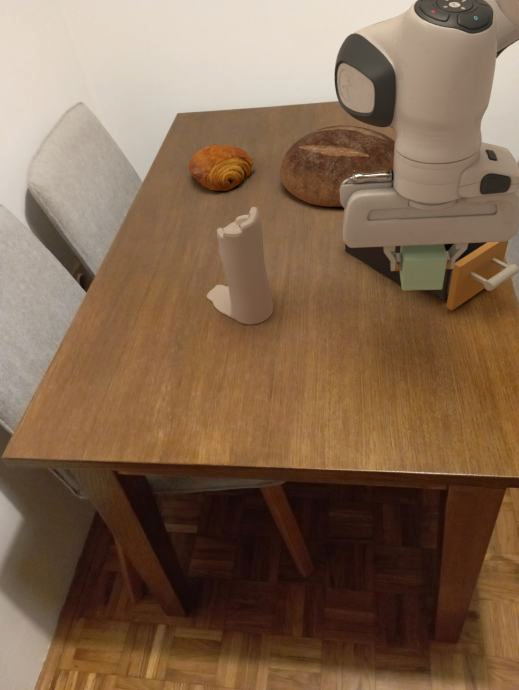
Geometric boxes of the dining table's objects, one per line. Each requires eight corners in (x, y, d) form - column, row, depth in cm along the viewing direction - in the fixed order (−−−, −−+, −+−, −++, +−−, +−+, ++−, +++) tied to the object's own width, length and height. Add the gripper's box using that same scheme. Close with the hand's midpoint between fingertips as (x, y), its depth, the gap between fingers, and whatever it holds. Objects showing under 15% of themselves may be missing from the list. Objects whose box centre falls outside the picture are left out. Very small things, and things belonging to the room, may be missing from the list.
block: (437, 265, 71) (441, 234, 67) (442, 289, 67) (447, 258, 64) (398, 266, 71) (401, 236, 68) (401, 290, 68) (404, 260, 64)
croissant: (207, 207, 120) (200, 178, 114) (184, 171, 129) (177, 142, 123) (264, 186, 123) (261, 156, 116) (237, 152, 132) (233, 123, 125)
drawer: (521, 291, 85) (535, 246, 79) (474, 324, 81) (484, 280, 75) (435, 244, 96) (441, 202, 90) (390, 272, 92) (393, 230, 86)
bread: (311, 145, 130) (309, 104, 123) (418, 158, 120) (423, 115, 112) (262, 199, 116) (256, 157, 109) (379, 220, 105) (381, 175, 98)
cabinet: (452, 255, 95) (461, 203, 87) (402, 287, 91) (406, 235, 83) (393, 223, 104) (396, 174, 96) (345, 250, 100) (344, 201, 92)
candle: (223, 279, 98) (202, 182, 84) (281, 305, 91) (269, 205, 77) (197, 301, 95) (169, 204, 80) (255, 330, 88) (236, 229, 73)
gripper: (339, 189, 58) (340, 285, 68) (538, 177, 54) (509, 280, 64) (338, 161, 62) (340, 255, 72) (523, 148, 59) (498, 249, 69)
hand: (421, 267), depth 68 cm, fingers closed on block, 5 cm apart
